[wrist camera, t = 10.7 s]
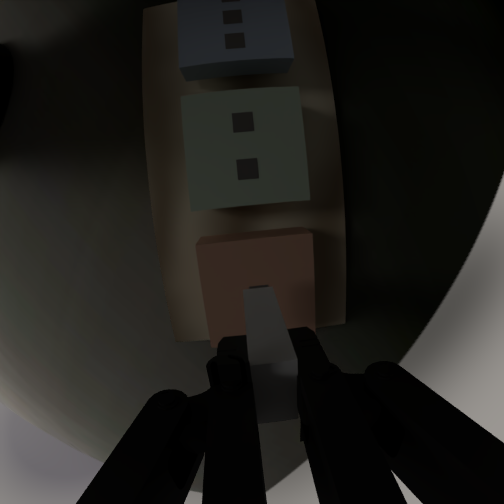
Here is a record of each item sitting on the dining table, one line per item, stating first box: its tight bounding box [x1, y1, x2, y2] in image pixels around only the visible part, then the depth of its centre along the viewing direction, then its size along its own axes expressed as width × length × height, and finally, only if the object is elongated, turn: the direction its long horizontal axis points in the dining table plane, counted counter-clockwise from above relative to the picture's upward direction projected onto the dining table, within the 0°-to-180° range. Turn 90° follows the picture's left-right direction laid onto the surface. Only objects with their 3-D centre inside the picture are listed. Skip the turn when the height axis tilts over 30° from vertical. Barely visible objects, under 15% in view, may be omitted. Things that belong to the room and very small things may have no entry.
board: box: [142, 0, 346, 342], centre depth 20 cm, size 14×28×3 cm, turn 5°
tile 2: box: [181, 86, 310, 212], centre depth 18 cm, size 7×7×3 cm
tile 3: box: [177, 0, 294, 82], centre depth 16 cm, size 7×7×3 cm
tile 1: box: [195, 226, 315, 348], centre depth 20 cm, size 7×7×3 cm
